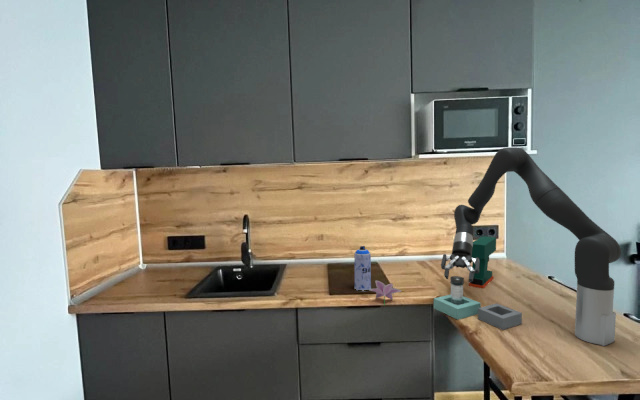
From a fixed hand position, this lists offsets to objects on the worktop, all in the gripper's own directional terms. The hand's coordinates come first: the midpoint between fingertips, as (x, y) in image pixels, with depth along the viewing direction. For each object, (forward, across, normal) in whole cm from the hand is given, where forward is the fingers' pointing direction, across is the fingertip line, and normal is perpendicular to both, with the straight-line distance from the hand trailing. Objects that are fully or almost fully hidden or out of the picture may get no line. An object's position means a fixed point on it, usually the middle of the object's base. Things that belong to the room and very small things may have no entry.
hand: (458, 279), depth 136 cm
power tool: (-24, +6, +40) cm, 47 cm away
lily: (+13, -28, +3) cm, 31 cm away
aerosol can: (+5, -42, +11) cm, 44 cm away
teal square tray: (+10, 0, +6) cm, 12 cm away
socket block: (+12, +15, +4) cm, 20 cm away
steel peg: (+10, 0, +6) cm, 12 cm away
